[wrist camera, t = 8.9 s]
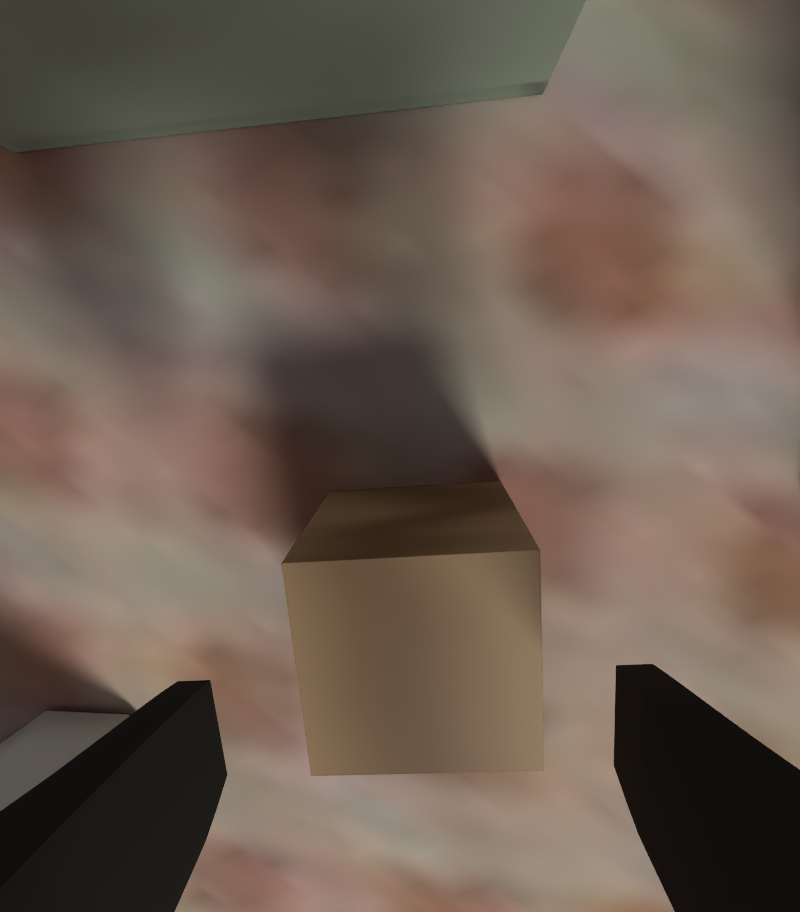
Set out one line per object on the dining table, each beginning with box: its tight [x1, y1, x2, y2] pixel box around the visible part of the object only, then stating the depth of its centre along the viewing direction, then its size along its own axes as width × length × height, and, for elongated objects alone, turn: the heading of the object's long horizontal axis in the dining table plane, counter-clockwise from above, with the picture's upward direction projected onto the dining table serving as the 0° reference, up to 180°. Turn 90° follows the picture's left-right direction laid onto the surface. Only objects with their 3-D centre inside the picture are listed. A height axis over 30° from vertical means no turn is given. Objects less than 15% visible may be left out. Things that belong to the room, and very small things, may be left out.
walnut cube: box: [281, 481, 544, 776], centre depth 12 cm, size 5×5×5 cm
